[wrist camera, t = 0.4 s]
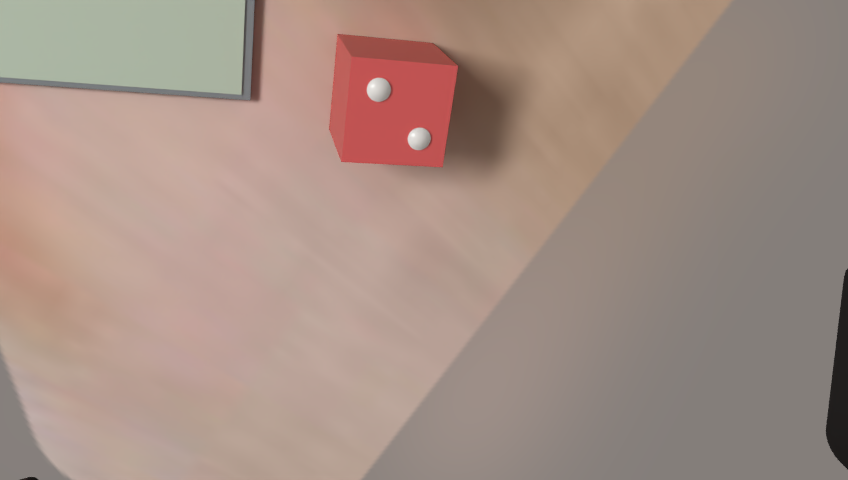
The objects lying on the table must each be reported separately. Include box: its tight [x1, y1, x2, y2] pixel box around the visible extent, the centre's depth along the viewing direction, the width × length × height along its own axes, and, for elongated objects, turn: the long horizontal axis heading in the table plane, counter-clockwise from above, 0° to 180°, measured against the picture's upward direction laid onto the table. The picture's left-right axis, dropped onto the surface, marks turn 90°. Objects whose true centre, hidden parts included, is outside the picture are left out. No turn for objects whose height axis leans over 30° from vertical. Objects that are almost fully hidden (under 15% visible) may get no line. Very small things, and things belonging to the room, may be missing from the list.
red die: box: [329, 34, 458, 167], centre depth 35 cm, size 4×4×5 cm
